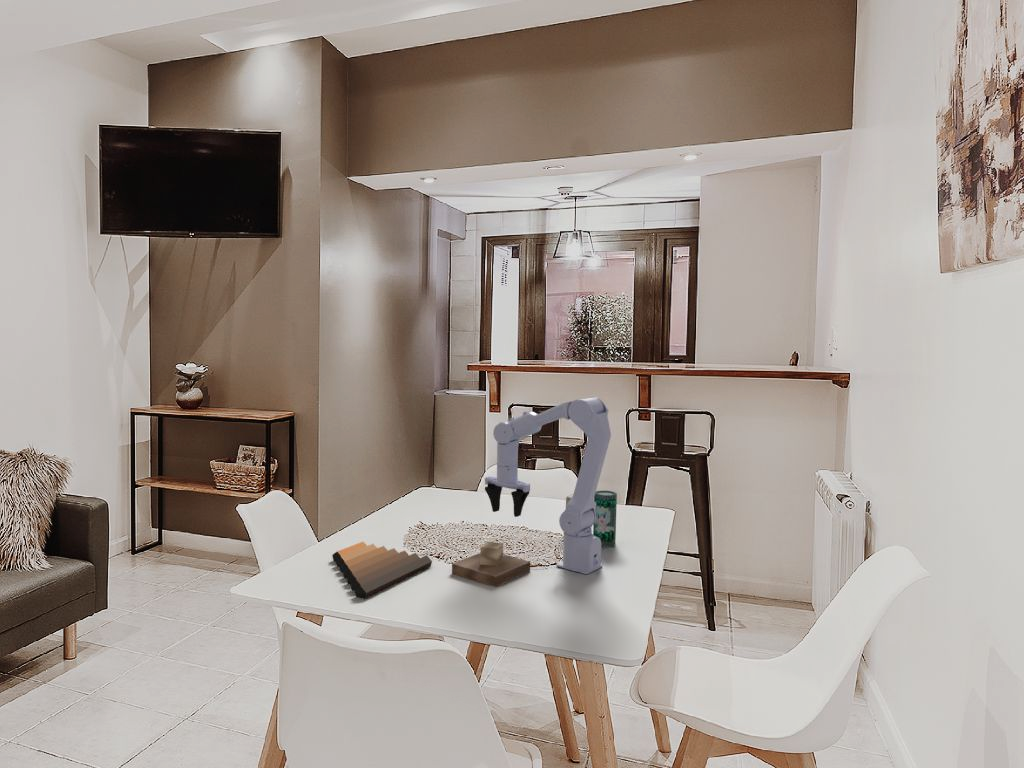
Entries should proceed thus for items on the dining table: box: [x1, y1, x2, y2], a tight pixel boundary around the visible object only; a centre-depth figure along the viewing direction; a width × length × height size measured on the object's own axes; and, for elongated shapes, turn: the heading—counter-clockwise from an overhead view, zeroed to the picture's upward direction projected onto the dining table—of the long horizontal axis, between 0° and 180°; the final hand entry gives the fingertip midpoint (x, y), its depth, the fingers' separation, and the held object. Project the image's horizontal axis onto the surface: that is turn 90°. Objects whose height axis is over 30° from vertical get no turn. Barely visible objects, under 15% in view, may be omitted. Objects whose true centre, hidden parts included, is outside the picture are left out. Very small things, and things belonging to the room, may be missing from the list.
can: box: [592, 490, 618, 549], centre depth 192 cm, size 6×6×15 cm
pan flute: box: [331, 541, 433, 600], centre depth 166 cm, size 25×3×25 cm
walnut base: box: [451, 553, 531, 588], centre depth 168 cm, size 14×14×2 cm
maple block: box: [480, 541, 504, 566], centre depth 168 cm, size 4×4×4 cm
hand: (506, 513), depth 185 cm, fingers open, 7 cm apart
